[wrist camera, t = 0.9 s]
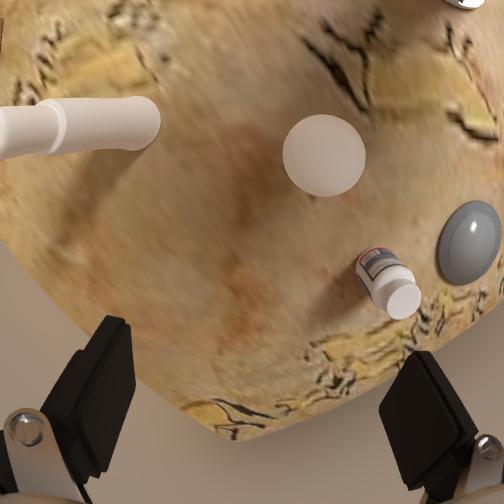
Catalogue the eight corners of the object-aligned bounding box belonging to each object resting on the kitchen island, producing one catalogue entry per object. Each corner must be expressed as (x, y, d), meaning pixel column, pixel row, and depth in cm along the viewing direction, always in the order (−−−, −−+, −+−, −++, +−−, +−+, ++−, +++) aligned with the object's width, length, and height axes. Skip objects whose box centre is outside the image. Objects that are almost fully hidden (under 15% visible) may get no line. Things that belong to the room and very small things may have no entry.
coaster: (488, 184, 31) (492, 186, 30) (504, 253, 35) (506, 255, 34) (426, 230, 33) (429, 232, 33) (448, 297, 37) (451, 300, 37)
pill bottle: (388, 284, 36) (418, 324, 28) (351, 284, 36) (374, 327, 28) (397, 245, 34) (432, 279, 26) (359, 243, 34) (387, 279, 26)
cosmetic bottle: (106, 147, 30) (-53, 196, 10) (114, 94, 28) (-47, 82, 7) (156, 153, 30) (14, 208, 10) (165, 98, 28) (25, 65, 8)
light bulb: (322, 190, 32) (353, 220, 22) (265, 164, 31) (271, 182, 21) (348, 135, 30) (392, 140, 19) (291, 106, 29) (311, 95, 18)
